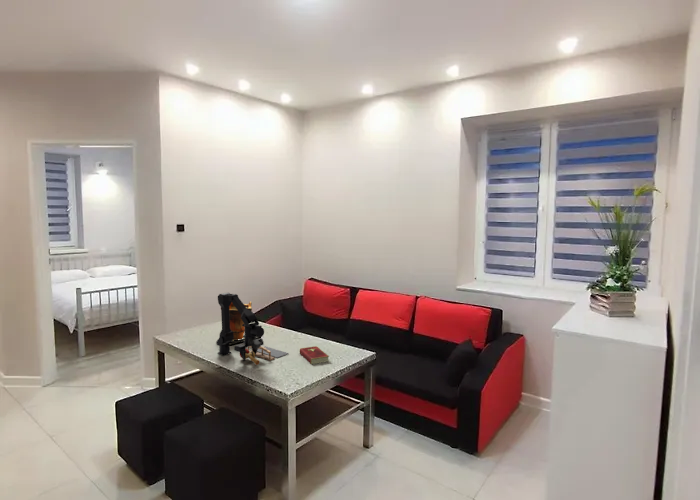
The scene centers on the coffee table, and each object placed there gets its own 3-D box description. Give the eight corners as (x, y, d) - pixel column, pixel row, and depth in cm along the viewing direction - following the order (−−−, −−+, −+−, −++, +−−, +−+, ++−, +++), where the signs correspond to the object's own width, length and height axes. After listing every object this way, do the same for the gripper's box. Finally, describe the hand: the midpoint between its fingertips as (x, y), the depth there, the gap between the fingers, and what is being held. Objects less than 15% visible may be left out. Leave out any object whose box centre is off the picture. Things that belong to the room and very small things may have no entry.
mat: (253, 350, 269) (253, 350, 269) (265, 347, 277) (265, 346, 277) (277, 358, 256) (277, 357, 256) (288, 353, 265) (288, 353, 265)
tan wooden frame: (247, 353, 264) (247, 345, 263) (252, 351, 267) (252, 343, 267) (269, 360, 252) (269, 352, 251) (274, 358, 255) (274, 350, 255)
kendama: (264, 365, 246) (248, 353, 258) (263, 355, 244) (247, 344, 256) (252, 370, 241) (237, 358, 253) (252, 361, 239) (236, 349, 251)
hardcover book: (310, 365, 247) (310, 358, 247) (299, 354, 266) (299, 348, 266) (328, 362, 252) (329, 355, 252) (316, 351, 271) (316, 345, 271)
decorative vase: (250, 342, 285) (247, 303, 283) (217, 343, 286) (215, 304, 283) (257, 333, 306) (255, 297, 304) (227, 334, 306) (224, 298, 304)
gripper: (246, 340, 236) (246, 366, 237) (269, 333, 251) (269, 357, 252) (233, 336, 242) (233, 362, 244) (257, 329, 257) (257, 353, 259)
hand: (249, 358), depth 249 cm, fingers closed on kendama, 7 cm apart
